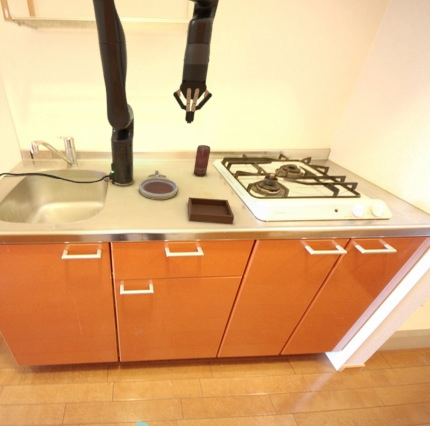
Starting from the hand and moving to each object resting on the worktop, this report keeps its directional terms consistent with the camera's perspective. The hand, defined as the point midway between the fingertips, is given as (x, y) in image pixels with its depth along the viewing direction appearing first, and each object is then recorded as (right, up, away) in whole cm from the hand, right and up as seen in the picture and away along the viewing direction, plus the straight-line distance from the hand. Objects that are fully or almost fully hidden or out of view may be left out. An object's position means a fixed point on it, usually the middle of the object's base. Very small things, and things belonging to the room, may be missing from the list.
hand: (188, 122), depth 78 cm
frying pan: (-9, -19, +24) cm, 32 cm away
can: (+12, -12, +35) cm, 39 cm away
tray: (+8, -31, +5) cm, 33 cm away
